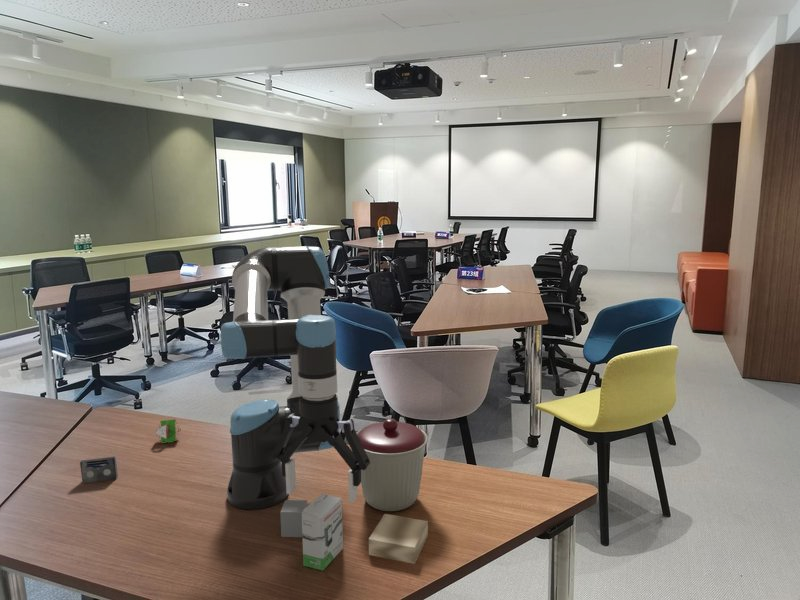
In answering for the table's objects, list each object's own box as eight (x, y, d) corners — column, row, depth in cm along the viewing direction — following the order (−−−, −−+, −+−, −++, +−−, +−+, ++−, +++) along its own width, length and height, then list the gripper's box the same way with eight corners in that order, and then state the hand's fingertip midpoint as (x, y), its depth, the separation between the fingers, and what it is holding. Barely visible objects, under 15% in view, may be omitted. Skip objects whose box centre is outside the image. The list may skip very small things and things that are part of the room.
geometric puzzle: (159, 428, 178) (155, 415, 173) (182, 426, 180) (178, 413, 174) (157, 449, 174) (152, 436, 168) (181, 446, 175) (177, 433, 170)
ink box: (323, 572, 113) (321, 517, 111) (301, 565, 115) (299, 512, 113) (344, 548, 121) (342, 496, 119) (324, 542, 123) (322, 492, 121)
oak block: (368, 556, 118) (368, 538, 118) (384, 529, 128) (384, 513, 127) (414, 565, 115) (414, 547, 115) (427, 537, 125) (427, 521, 124)
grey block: (281, 537, 125) (280, 512, 124) (286, 524, 130) (285, 500, 129) (304, 537, 125) (303, 512, 124) (308, 524, 130) (307, 500, 129)
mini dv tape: (117, 476, 153) (115, 455, 151) (116, 479, 151) (114, 458, 150) (84, 480, 150) (81, 459, 149) (82, 483, 149) (80, 462, 148)
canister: (338, 503, 139) (336, 421, 135) (387, 475, 152) (386, 400, 148) (395, 530, 127) (394, 441, 123) (442, 497, 141) (443, 417, 137)
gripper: (251, 395, 111) (257, 496, 115) (372, 406, 105) (374, 513, 108) (270, 384, 119) (275, 479, 122) (384, 394, 112) (386, 494, 115)
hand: (321, 495), depth 115 cm, fingers open, 13 cm apart
